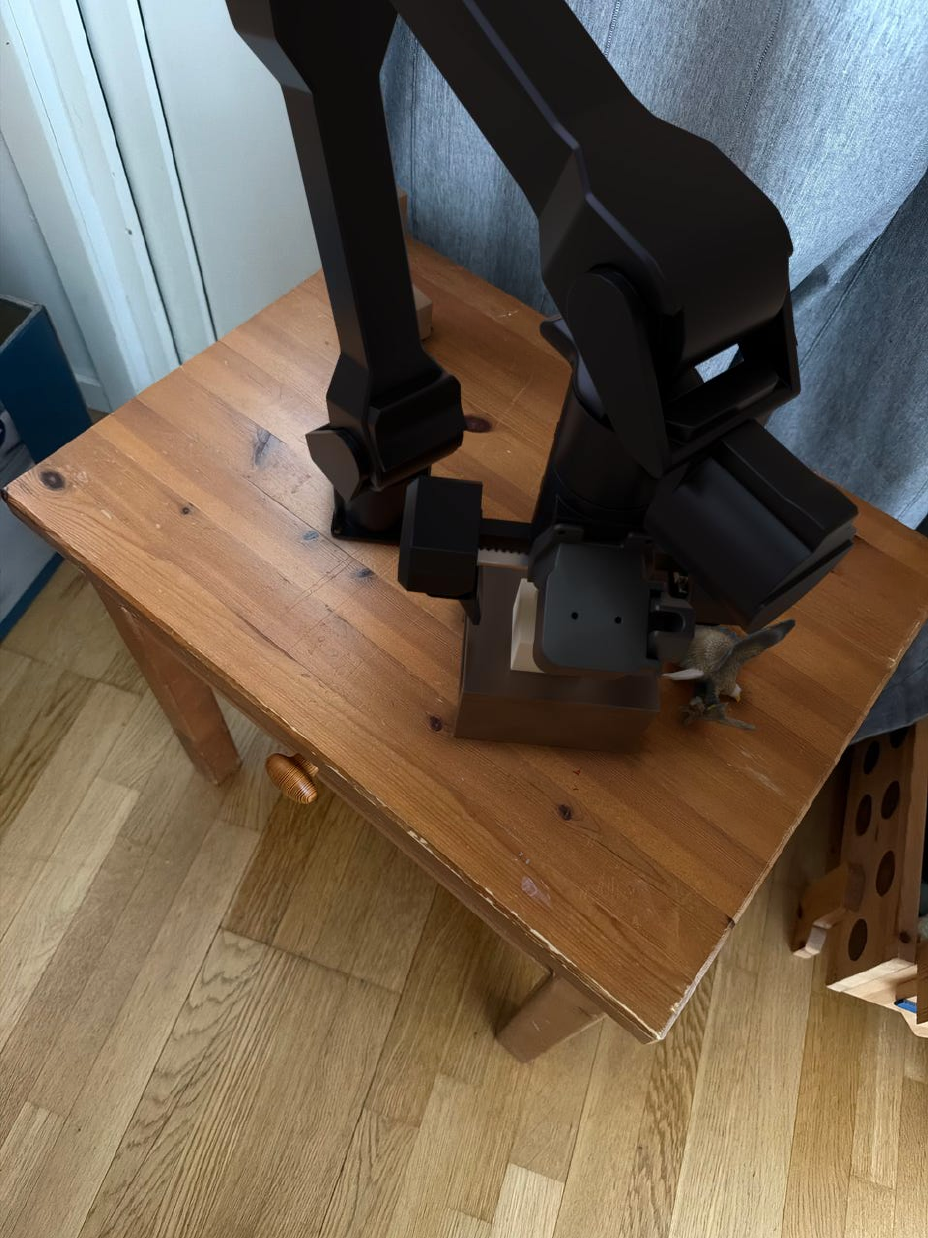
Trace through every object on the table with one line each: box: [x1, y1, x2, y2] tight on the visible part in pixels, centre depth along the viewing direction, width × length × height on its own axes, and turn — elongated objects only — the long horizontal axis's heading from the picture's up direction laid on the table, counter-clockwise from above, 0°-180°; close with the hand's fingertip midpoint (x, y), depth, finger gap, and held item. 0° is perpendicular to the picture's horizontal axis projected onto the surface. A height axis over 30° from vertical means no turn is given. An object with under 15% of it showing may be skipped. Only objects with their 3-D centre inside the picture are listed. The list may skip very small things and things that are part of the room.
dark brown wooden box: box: [452, 565, 661, 754], centre depth 59 cm, size 12×10×7 cm
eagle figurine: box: [661, 617, 797, 731], centre depth 61 cm, size 8×7×9 cm
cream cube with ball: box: [511, 579, 544, 673], centre depth 53 cm, size 4×4×7 cm
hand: (551, 626), depth 54 cm, fingers open, 9 cm apart
